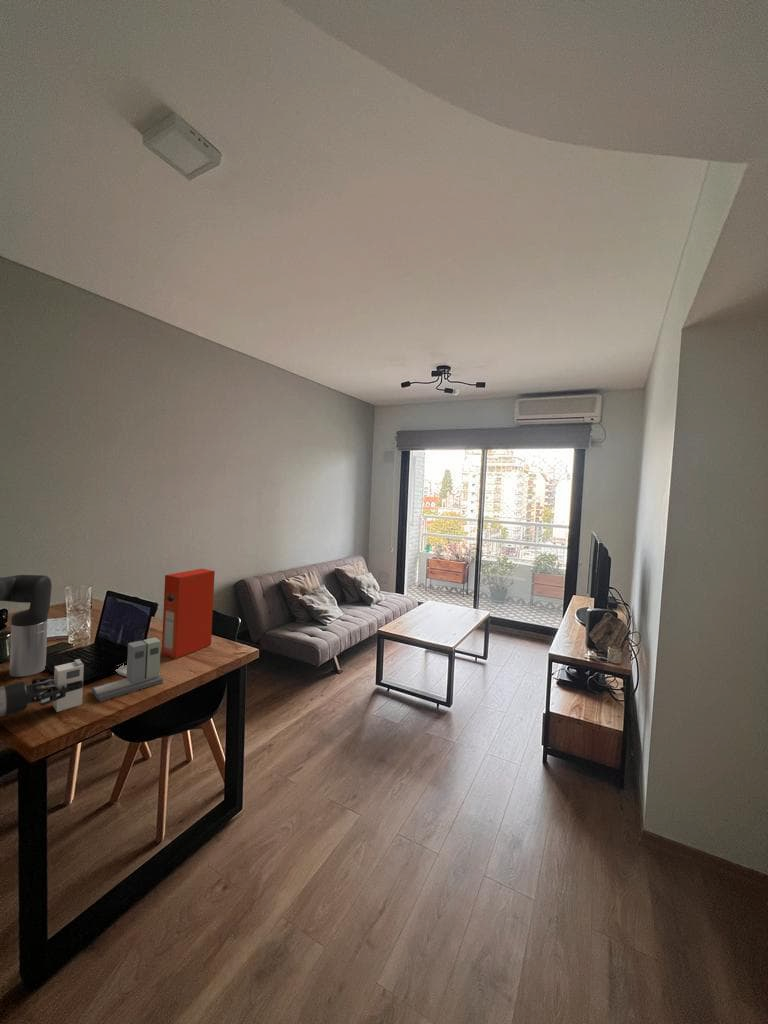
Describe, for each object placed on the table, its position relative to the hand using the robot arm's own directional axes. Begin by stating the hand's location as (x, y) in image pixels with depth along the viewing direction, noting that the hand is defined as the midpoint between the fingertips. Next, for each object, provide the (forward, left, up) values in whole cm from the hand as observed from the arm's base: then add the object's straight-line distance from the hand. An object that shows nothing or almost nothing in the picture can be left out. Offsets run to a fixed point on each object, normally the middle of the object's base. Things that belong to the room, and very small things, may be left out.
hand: (79, 681), depth 120 cm
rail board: (0, +13, -7) cm, 15 cm away
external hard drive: (-12, +19, -7) cm, 23 cm away
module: (0, -3, -7) cm, 7 cm away
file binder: (-18, +40, -7) cm, 44 cm away
